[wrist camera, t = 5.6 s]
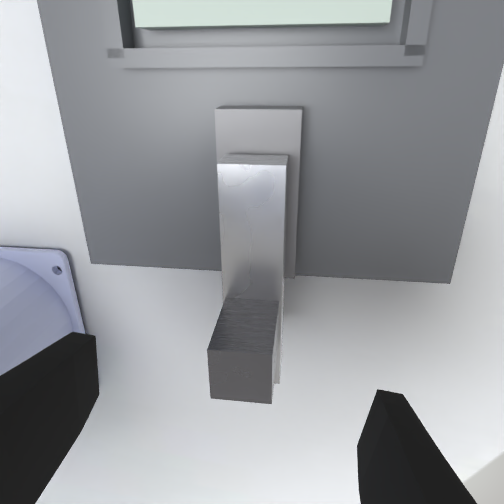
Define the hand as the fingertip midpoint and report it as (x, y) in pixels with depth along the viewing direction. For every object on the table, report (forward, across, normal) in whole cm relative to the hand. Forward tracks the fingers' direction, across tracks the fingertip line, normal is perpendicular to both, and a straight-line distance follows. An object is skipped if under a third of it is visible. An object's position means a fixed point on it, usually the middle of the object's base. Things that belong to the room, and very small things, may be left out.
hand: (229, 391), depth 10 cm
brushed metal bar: (+6, 0, 0) cm, 6 cm away
